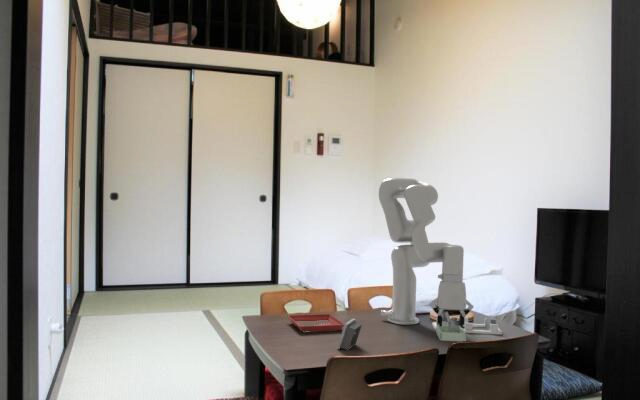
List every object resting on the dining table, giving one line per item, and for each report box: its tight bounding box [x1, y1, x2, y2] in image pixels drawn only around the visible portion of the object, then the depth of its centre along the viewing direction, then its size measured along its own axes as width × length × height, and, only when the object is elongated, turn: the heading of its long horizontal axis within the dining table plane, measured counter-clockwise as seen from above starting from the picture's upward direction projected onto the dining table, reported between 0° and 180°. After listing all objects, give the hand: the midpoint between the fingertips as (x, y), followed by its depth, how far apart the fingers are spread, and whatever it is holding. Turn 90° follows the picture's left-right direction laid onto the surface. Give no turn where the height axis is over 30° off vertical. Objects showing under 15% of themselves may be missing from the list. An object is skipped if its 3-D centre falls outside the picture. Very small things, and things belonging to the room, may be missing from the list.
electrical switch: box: [336, 318, 363, 351], centre depth 182 cm, size 9×5×9 cm, turn 158°
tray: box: [435, 325, 467, 342], centre depth 199 cm, size 9×11×3 cm
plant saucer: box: [287, 313, 345, 332], centre depth 208 cm, size 18×18×3 cm
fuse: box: [486, 315, 497, 331], centre depth 210 cm, size 2×7×5 cm, turn 175°
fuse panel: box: [431, 315, 503, 335], centre depth 211 cm, size 25×11×4 cm, turn 85°
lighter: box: [442, 310, 460, 333], centre depth 199 cm, size 7×2×8 cm, turn 114°
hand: (450, 325), depth 199 cm, fingers closed on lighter, 6 cm apart
